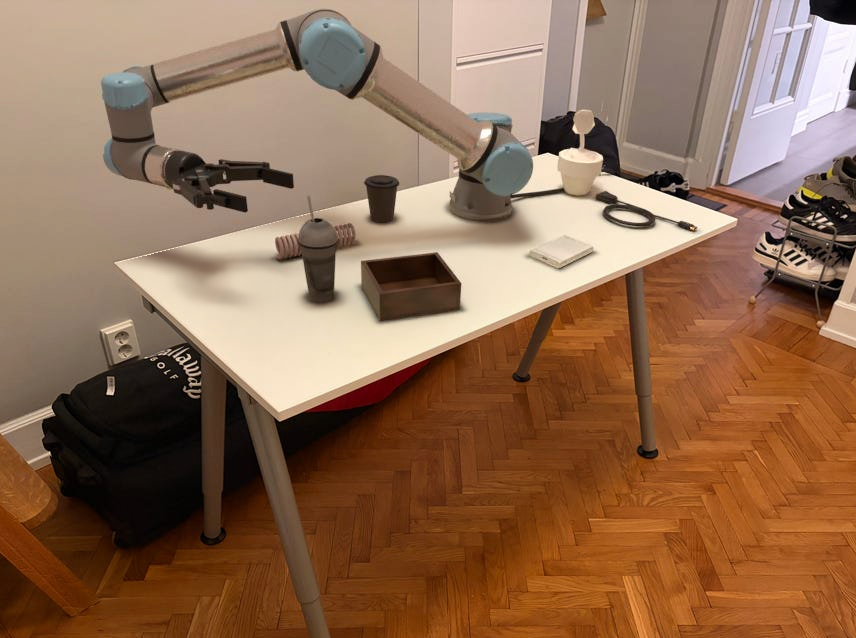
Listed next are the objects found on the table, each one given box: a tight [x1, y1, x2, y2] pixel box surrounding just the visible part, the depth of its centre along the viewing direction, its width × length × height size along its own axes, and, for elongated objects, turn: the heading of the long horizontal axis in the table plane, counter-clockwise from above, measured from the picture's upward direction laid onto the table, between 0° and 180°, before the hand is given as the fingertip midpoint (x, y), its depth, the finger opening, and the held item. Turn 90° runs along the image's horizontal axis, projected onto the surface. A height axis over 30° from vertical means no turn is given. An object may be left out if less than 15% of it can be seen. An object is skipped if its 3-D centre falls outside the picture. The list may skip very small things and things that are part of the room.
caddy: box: [360, 251, 462, 322], centre depth 137 cm, size 16×14×6 cm
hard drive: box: [529, 234, 594, 269], centre depth 158 cm, size 2×8×12 cm
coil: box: [274, 222, 358, 261], centre depth 152 cm, size 5×5×18 cm
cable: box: [595, 190, 698, 231], centre depth 178 cm, size 14×28×2 cm, turn 44°
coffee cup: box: [363, 174, 400, 225], centre depth 166 cm, size 8×8×10 cm
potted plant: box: [556, 102, 609, 197], centre depth 185 cm, size 13×12×25 cm
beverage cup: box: [298, 194, 339, 303], centre depth 132 cm, size 7×7×20 cm
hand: (270, 192), depth 130 cm, fingers open, 13 cm apart
